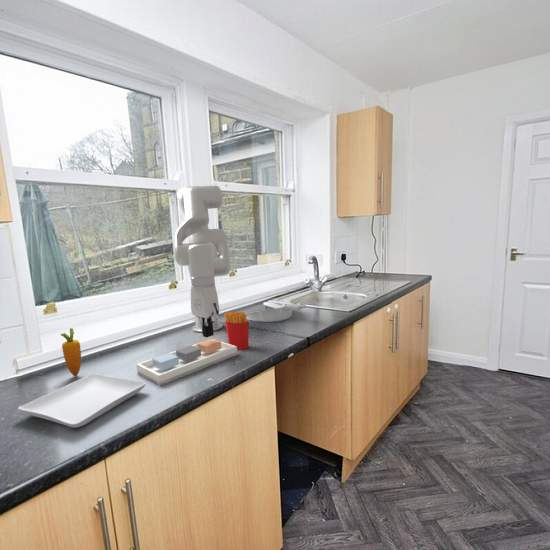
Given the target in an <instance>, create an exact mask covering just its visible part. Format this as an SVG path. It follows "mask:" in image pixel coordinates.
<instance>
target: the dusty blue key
mask: <svg viewBox="0 0 550 550" xmlns="http://www.w3.org/2000/svg"><path fill="white" fill-rule="evenodd" d="M151 359H152V361H153V366H154V367H156V368H158V369H160V370H165V369H168V368H170V367H173V366H176V365H178V364H179V358H178V356H176V355H173V354H171V352H168V353H164V354H162V355H161V354H160V355H159V356H155V357H152V358H151Z"/></svg>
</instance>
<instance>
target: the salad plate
mask: <svg viewBox="0 0 550 550" xmlns="http://www.w3.org/2000/svg"><path fill="white" fill-rule="evenodd" d="M146 385H147V382H144V381H141V380H135V379H128V378H123V377H118V376H112V375H108V374H100V373H92V374H89V375H87V376H85V377H82V378H80V379H78V380H75V381H73V382H71V383H68V384H67V385H66V384H65V385H63V386H62V387H60V388H56V389H54V390H53V391H50V392H48V393H46V394H44V395H42V396H39V397H38V398H35V399H33V400H32V401H30V402H27V403H25V404H22V405H20V406H18V407H17V409H18V411H19V412H21V413H23V414H25V415H29V416H32V417H36V418H40V419H43V420H47V421H50V422H54V423H57V424H61V425H64V426H67V427H69V428H72V429H76V428H82V427H83V426H86V425H88V424H89V423H90V422H91V421H93V420H95V419H96V418H99V417H100V416H102V415H104V414H105V413H107V412H108V411H110V410H112V409H113V408H115V407H116V406H118V405H120V404H122V403H123V402H125V401H126V400H128V399H130V398H132V397H134V396H135V395H137V394H138V393H140V391H142V390H143V389H144V388H145V386H146Z"/></svg>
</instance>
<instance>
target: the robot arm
mask: <svg viewBox="0 0 550 550" xmlns="http://www.w3.org/2000/svg"><path fill="white" fill-rule="evenodd" d="M223 196H224V195H223V191H222V190H221V187H220V186H218V185H194V186H185V187H182V188H180V189H178V192H177V198H178V199H177V200H178V203H179V207H180V208H181V210H182V213H183V214H184V218H185V219H184V221H183V222H182V223H181V224H180V225H179V226H178V227H177V229H176V231H175V234H174V238H173V249H174V251H173V253H174V259H175V262H176V263H177V264H178V265H179V266H183V267H184V266H185V267H186V266H187V269H188V273H189V277H190V282H191V286H190V287H191V288H190V310H191V313H192V316H195V318H193V319H192V321H193V322H194V323H195V325H193V326H192V330H193V331H194V332H196V333H202V337H204V338H209V337H213V336H214V331H218V330H220V329H222V328H223V323H221V322H219V314H220V305H219V304H220V303H219V297H218V291H217V288H216V280H215V277H225V276H228V275H229V274H230V273H231V260H230V259H231V258H230V251H229V242H228V237H227V233H226V231H225V230H224V229H222V228H210V227H209V223H210V216H209V210H210V209H220V208H222V206H223V203H224V197H223ZM187 238H188V242H189V243H184V241H185V240H186V239H187Z"/></svg>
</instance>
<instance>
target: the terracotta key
mask: <svg viewBox="0 0 550 550" xmlns="http://www.w3.org/2000/svg"><path fill="white" fill-rule="evenodd" d="M213 339H214V338H209V339H207V340H204V341H200V342H197V343H196V344H197V346H198V348H200V349H201V352H204V353H207V354H208V353H211V352H214V351H216V350H219V349H221V342H222V341H221V340H218V341H217V339H214V340H213ZM220 341H221V342H220Z"/></svg>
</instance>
